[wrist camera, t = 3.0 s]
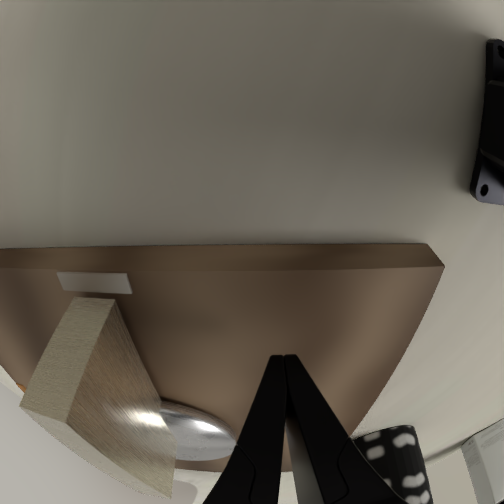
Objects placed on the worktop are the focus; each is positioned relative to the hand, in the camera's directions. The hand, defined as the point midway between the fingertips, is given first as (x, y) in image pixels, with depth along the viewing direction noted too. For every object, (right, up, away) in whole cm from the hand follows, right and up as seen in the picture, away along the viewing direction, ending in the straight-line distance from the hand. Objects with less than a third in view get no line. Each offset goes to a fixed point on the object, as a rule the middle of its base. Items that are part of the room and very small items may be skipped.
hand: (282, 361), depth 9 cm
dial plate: (-6, -7, +8) cm, 12 cm away
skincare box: (+41, -29, +23) cm, 55 cm away
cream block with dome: (-6, -5, +5) cm, 9 cm away
